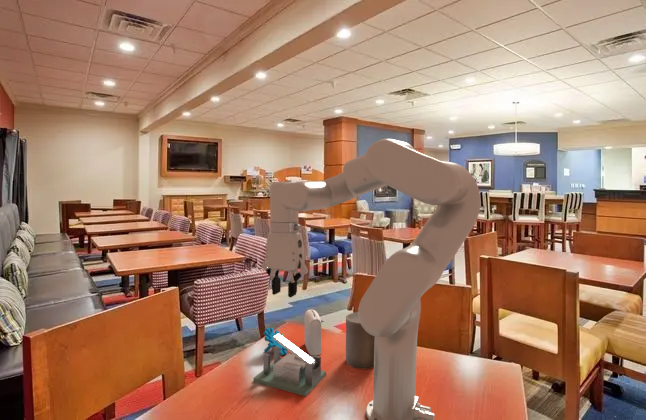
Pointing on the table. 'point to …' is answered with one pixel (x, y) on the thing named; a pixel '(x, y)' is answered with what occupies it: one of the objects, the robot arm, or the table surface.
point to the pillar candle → (358, 344)
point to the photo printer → (313, 332)
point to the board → (300, 390)
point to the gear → (273, 343)
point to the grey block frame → (292, 368)
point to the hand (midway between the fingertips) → (284, 293)
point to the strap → (294, 350)
